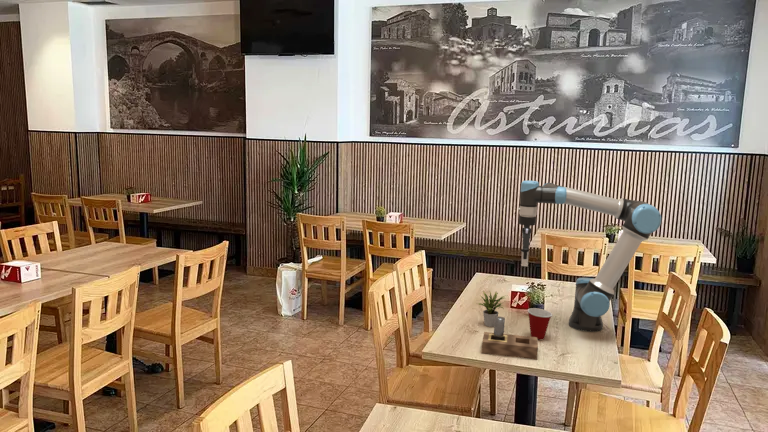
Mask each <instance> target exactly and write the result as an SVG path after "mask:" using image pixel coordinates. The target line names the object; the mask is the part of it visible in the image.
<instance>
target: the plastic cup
mask: <svg viewBox="0 0 768 432" xmlns="http://www.w3.org/2000/svg"><path fill="white" fill-rule="evenodd" d="M527 313H528V321H529V323H528V324H529V330H530V337H537V339H538V340H542V341H543V340H544V339H545V337H546V334H547V333H546V332H547V330H548V326H549V323H550V320H551V319H552V317H553V313H552V312H551V311H549V310H546V309H542V308H538V307H537V308H536V307H533V308H532V307H531V308H528V309H527ZM538 340H537V341H538Z"/></svg>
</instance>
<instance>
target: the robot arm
mask: <svg viewBox="0 0 768 432" xmlns="http://www.w3.org/2000/svg"><path fill="white" fill-rule="evenodd" d="M519 195H520V196H519V207H518V208H517V210H518V213H519V215H518V224H519V225H521V226H523V227H521V229H522V230H521V233H522V235H521V236H522V246H521V249H520V252H521V257H520V258H521V264H520V265H521V267H529V266H528V265H529V251H530V249H529V248H530V247H529V246H531V245H530V244H531V242H530V239H531V234H532V228H531V227H532V226H535V225H536V224H537V217H536V216H537V214H538V211H537V210H538V204H552V205H554V204H555V205H568V206H573V207H576V208H581V209H583V210H584V209H585V210H590V211H593V212H597V213H601V214H606V215H610V216H612V217H614V218H615V219H617V220H619V221H620V220H621V221H623V224H622V226H621V228H622V233H621V234H620V236H619V237H618V240H617V241H616V242H615V244H614V246H613V248H612V249H611V251H610V253H609V255H608V256H607V258H606V259H605V261H604V263H603V265H602V266H601V267H600V270H598V273H597V274H596V276H595V278H593V277H579V278H577V279H576V281H575V293H574V306H573V310H572V312H571V315H570V317H569V319H568V326H569V327H570V328H572V329H575V330H578V331H582V332H589V333H590V332H591V333H593V332H600V331H602V330H603V327H604V322H603V318H602V316H604V315H605V314H606V313H608V311H610V306H611V300H612V298H613V297H614V295H615V290H614V288H615V287H616V285H617V283H618V281H619V280H620V278H621V277H622V275H623V274H624V272H625V270H626V268H627V267H628V265H629V263H630V262H631V260H632V259H633V257H634V255H635V254H636V253H637V251H638V249H639V248H640V245H641V244H642V242H644V241H647V240H649V237H650V236H651V235H652V233H654V232H656V231H657V230H658V229H659V228H660V227H661V224H662V214H661V212H660V211H659V209H658V208H656V206H654V205H652V204H650V203H647V202H646V201H641V200H634V199H629V198H628V199H627V198H623V197H621V198H620V199H617V198H613V197H609V196H604V195H600V194H596V193H593V192H588V191H584V190H579V189H575V188H572V187H566V186H562V185H559V184H555V183H554V182H546V183H544V184H543V185H540V184H539V181H537V180H523V181H522V182H521V185H520V194H519Z"/></svg>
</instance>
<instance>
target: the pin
mask: <svg viewBox="0 0 768 432" xmlns="http://www.w3.org/2000/svg"><path fill="white" fill-rule="evenodd" d="M505 320H506V319H505V317H503V316H498V317H495V325H494V328H493V333H494V337H493V340H501V341H503V335H504V334H505V333H504V332H505V322H506V321H505Z"/></svg>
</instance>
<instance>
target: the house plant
mask: <svg viewBox="0 0 768 432" xmlns="http://www.w3.org/2000/svg"><path fill="white" fill-rule="evenodd" d="M498 294H499V292H497V291H495V292H494V295H493V296H492V293H491V291H489V295H488V294H486V292H485V291H483V295H484V297H483V296H482V295H480V297H481V299H482V300H483V301H484V302H483V303H478V304H477V305H480V306H483V307H485V310H483V311H482V314H483V315H482V316H483V323H484V326H485V327H488V328H493V327H494V325H495V317H499V316H498V315H499V311H497V310H499V309H500V308H501V309H504V306H502V305H503V302H501V300H503V299H506V298H505V295H502V296H501V297H499V298H498V299H497V297H498ZM506 297H508V295H506ZM499 302H500V303H499Z"/></svg>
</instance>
